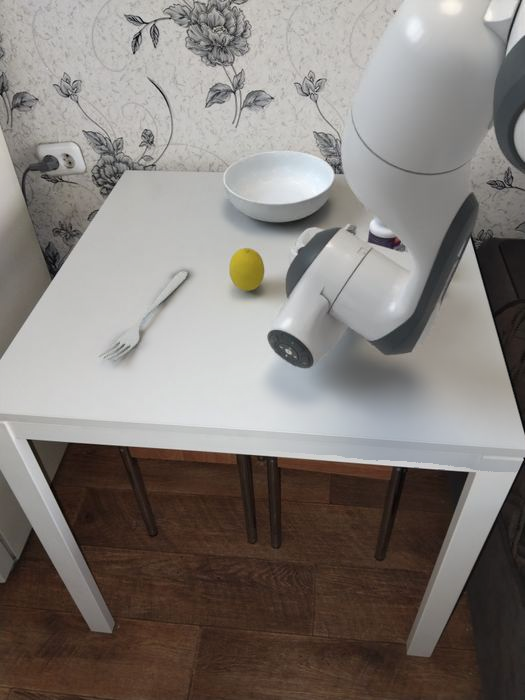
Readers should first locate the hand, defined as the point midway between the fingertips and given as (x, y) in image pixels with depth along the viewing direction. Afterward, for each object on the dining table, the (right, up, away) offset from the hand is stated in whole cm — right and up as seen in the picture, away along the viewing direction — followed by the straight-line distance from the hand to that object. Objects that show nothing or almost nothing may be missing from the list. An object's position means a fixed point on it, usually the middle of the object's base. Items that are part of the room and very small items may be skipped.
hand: (380, 236), depth 93 cm
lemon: (-21, -8, +4) cm, 23 cm away
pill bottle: (+2, -3, +7) cm, 8 cm away
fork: (-36, -13, 0) cm, 38 cm away
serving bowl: (-15, +10, +22) cm, 28 cm away
